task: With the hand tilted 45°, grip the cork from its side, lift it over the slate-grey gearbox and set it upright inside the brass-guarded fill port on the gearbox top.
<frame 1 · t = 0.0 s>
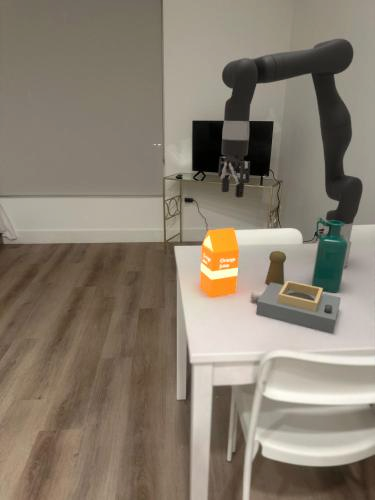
hand: (231, 194, 108), 29 cm above the table, tool pointing down, fingers open, 8 cm apart
pitcher: (322, 286, 118), on the table
gearbox: (297, 311, 101), on the table
orange juice: (217, 290, 113), on the table
cork: (274, 284, 119), on the table
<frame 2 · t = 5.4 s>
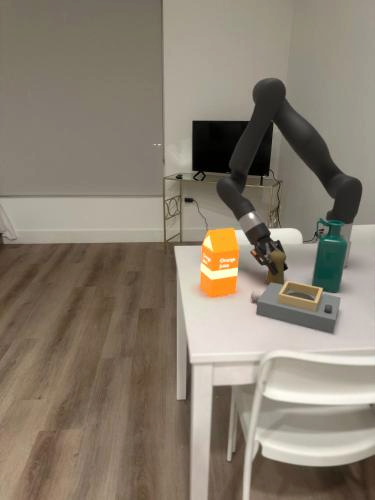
hand: (281, 272, 116), 5 cm above the table, tool tilted 45°, fingers closed on cork, 4 cm apart
cork: (274, 284, 119), on the table, touching gripper
everything else where it was.
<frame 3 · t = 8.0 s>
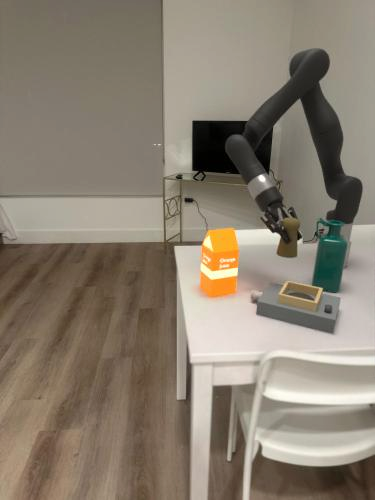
hand: (294, 240, 104), 18 cm above the table, tool tilted 45°, fingers closed on cork, 4 cm apart
cork: (286, 254, 107), point 13 cm above the table, touching gripper
everything else where it was.
when the fingers open (10 cm above the table, at t = 11.0 s): cork stays where it is, resting on gearbox.
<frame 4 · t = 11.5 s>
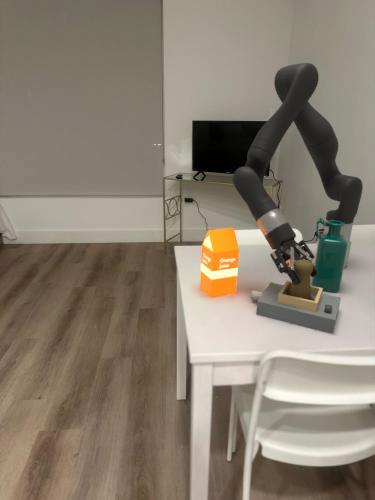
hand: (307, 279, 97), 10 cm above the table, tool tilted 45°, fingers open, 8 cm apart
cork: (299, 298, 100), point 4 cm above the table, touching gearbox
everything else where it was.
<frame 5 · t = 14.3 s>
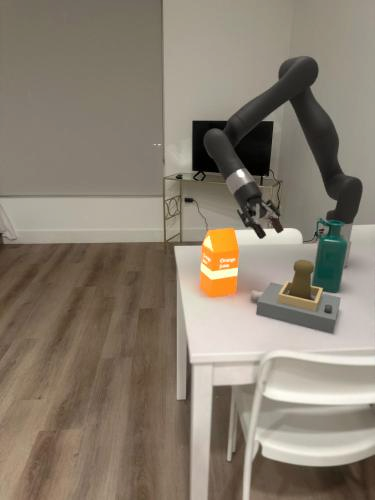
hand: (272, 234, 102), 20 cm above the table, tool tilted 45°, fingers open, 8 cm apart
nothing on the table moved.
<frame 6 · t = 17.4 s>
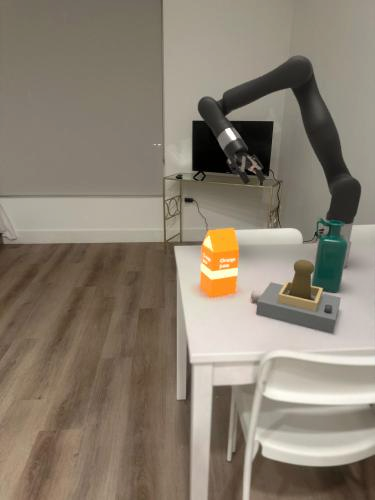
hand: (256, 181, 123), 31 cm above the table, tool tilted 45°, fingers open, 8 cm apart
nothing on the table moved.
at the end: cork 0.3 cm off-centre on the gearbox, point 4.0 cm above the gearbox's base; cork tilted 0°; the gripper is holding nothing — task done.
